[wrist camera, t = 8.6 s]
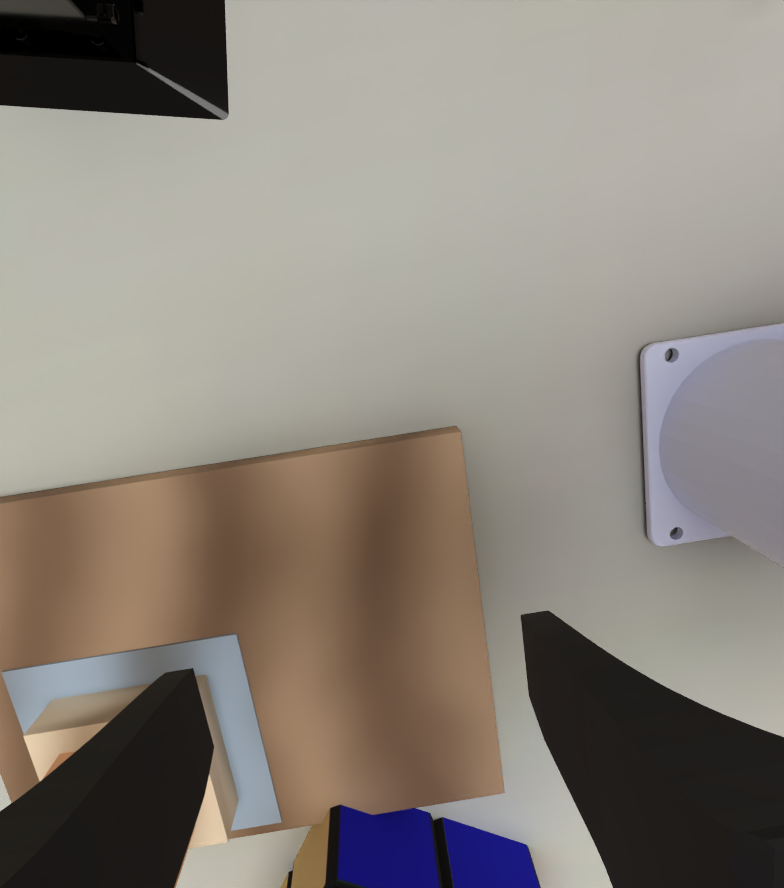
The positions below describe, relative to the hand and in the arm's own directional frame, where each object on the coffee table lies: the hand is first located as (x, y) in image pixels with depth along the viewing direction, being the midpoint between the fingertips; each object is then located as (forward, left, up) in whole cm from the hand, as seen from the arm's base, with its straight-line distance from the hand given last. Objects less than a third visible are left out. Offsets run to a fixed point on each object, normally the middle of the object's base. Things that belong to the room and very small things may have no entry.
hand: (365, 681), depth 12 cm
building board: (+6, +5, -10) cm, 13 cm away
